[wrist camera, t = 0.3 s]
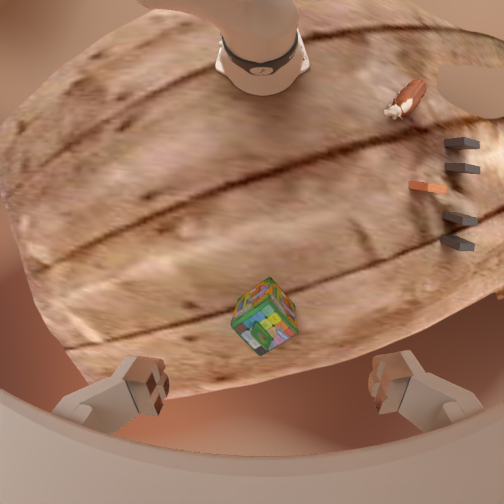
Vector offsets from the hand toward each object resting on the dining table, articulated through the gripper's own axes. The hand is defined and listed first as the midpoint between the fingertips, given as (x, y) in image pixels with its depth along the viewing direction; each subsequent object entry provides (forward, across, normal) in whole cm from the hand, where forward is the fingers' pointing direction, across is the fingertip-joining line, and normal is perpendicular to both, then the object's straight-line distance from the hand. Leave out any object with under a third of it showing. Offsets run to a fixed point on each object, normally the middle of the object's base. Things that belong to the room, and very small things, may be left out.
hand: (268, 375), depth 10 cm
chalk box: (+47, +2, +20) cm, 51 cm away
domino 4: (+47, -42, +1) cm, 63 cm away
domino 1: (+47, -32, -5) cm, 57 cm away
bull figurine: (+47, -28, -22) cm, 59 cm away
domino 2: (+47, -43, -16) cm, 65 cm away
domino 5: (+47, -42, +6) cm, 63 cm away
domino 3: (+47, -42, -10) cm, 64 cm away
